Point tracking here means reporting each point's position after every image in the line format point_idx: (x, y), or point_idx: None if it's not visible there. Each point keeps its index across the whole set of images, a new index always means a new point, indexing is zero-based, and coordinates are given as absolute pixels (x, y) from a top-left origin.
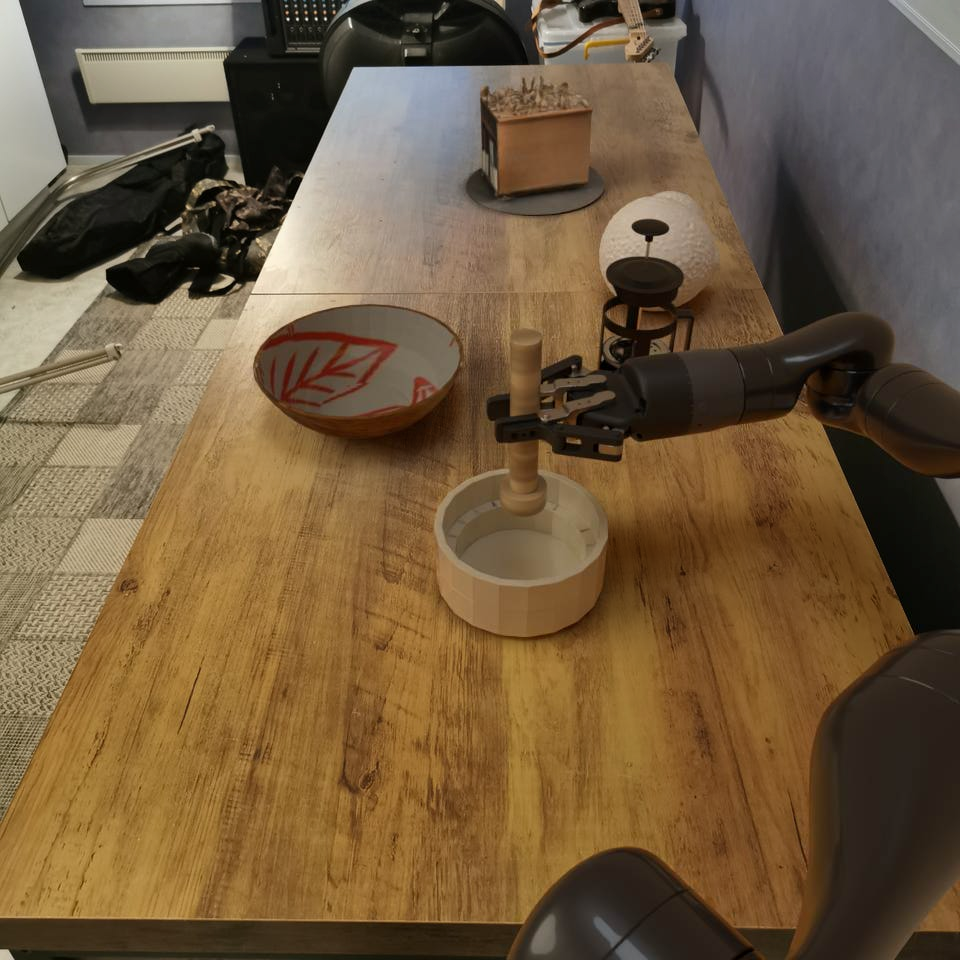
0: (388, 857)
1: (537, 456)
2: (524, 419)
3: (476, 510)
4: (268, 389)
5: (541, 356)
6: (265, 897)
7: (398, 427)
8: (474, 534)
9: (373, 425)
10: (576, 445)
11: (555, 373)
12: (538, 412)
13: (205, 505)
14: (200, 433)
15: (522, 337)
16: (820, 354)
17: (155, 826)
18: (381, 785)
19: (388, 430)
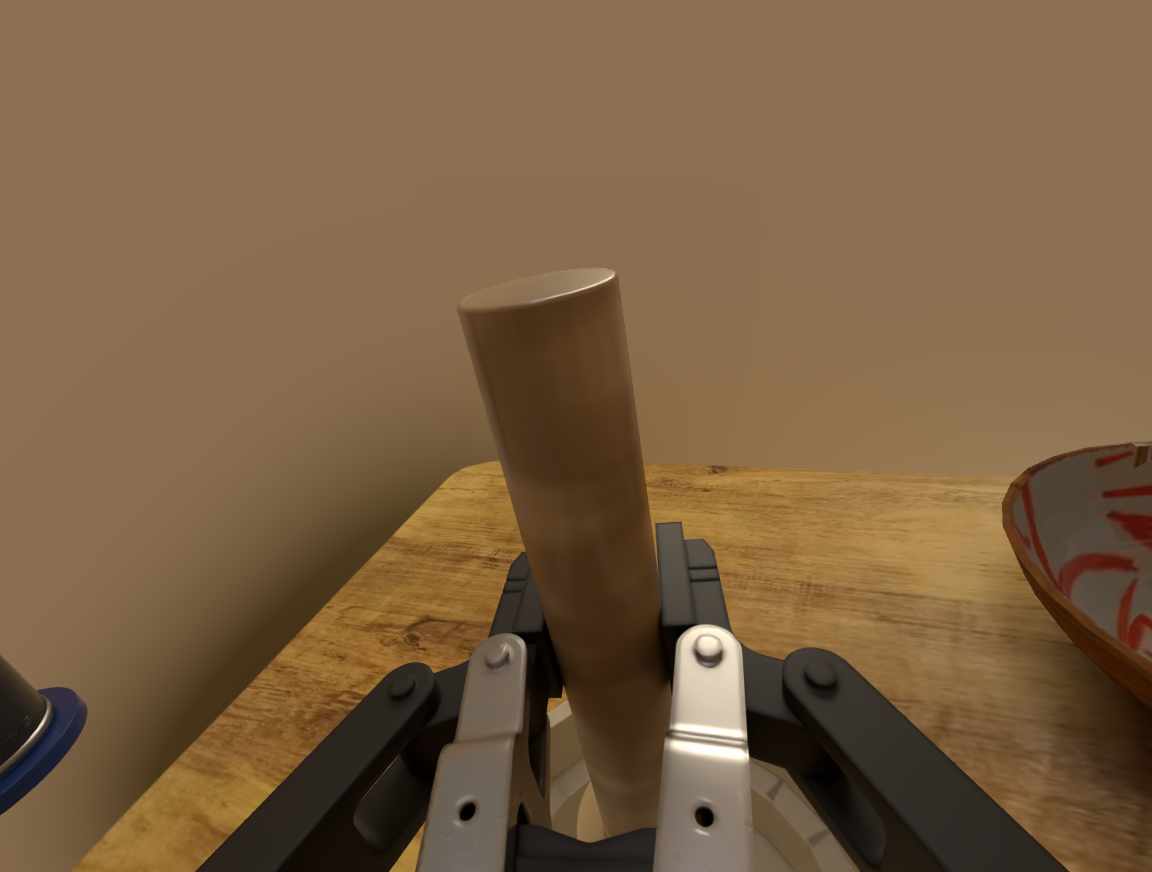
0: (329, 650)
1: (602, 788)
2: (524, 591)
3: (823, 840)
4: (1098, 479)
5: (513, 419)
6: (370, 569)
7: (1139, 698)
8: (790, 853)
9: (1059, 618)
10: (390, 825)
11: (882, 799)
12: (561, 651)
13: (851, 499)
14: (1013, 480)
15: (536, 282)
16: None
17: (468, 512)
18: (398, 650)
19: (1108, 674)
